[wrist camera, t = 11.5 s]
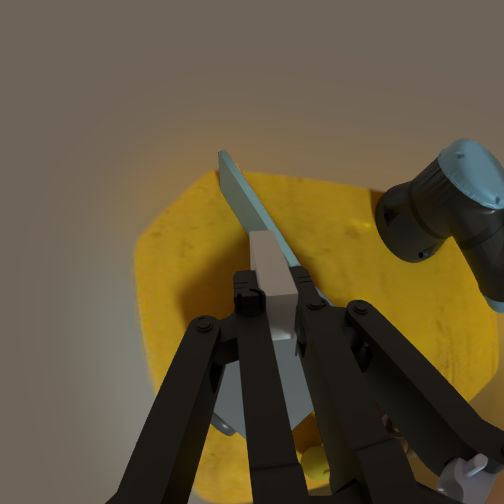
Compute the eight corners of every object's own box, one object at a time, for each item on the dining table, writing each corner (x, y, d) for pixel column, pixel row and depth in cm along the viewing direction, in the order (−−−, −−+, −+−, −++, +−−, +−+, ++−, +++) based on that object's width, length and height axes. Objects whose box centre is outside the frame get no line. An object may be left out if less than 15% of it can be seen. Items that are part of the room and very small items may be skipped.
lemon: (328, 461, 33) (345, 482, 26) (296, 468, 33) (308, 491, 25) (328, 435, 35) (346, 454, 27) (295, 442, 34) (308, 463, 27)
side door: (292, 281, 41) (311, 264, 31) (280, 288, 41) (296, 274, 30) (232, 184, 45) (232, 146, 35) (220, 190, 45) (218, 152, 34)
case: (284, 287, 41) (302, 272, 31) (338, 342, 39) (371, 344, 29) (188, 377, 36) (172, 394, 26) (246, 431, 34) (251, 463, 24)
